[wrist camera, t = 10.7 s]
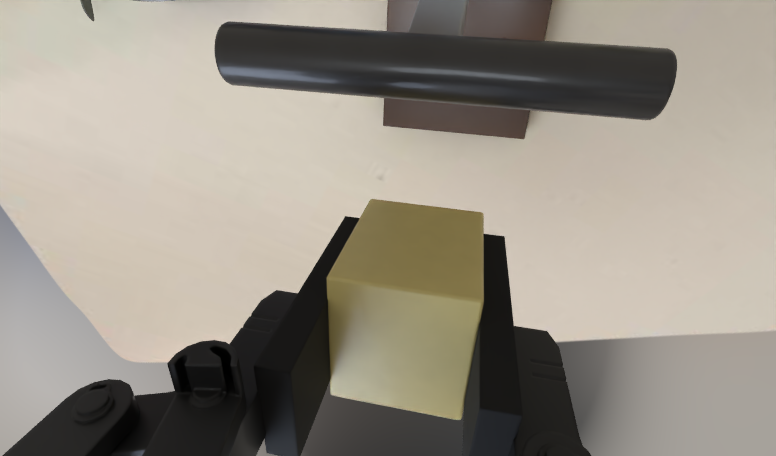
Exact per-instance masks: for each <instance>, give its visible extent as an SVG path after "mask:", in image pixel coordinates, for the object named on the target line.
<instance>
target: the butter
mask: <svg viewBox="0 0 776 456" xmlns="http://www.w3.org/2000/svg"><path fill="white" fill-rule="evenodd" d="M327 299H328V319H329V350H330V393H331V395H333V396H338V397H343V398H349V399H353V400H358V401H363V402H369V403H374V404H379V405H384V406H389V407H395V408H399V409H404V410H409V411H414V412H419V413H425V414H430V415H435V416H440V417H445V418H451V419H455V420H460V419H461V418H462V414H463V408H464V402H465V396H466V391H467V386H468V381H469V375H470V370H471V365H472V360H473V354H474V349H475V344H476V339H477V333H478V328H479V323H480V319H481V314H482V309H483V304H484V228H483V213H481V212H474V211H466V210H457V209H449V208H441V207H433V206H425V205H417V204H408V203H400V202H392V201H384V200H376V199H371V200H370V201H369V203H368V205H367V206H366V208H365V210H364V212H363V214H362V215H361V217H360V219H359V221H358V223H357V224H356V226H355V228H354V230H353V231H352V233H351V235H350V237H349V239H348V240H347V242H346V244H345V246H344V247H343V249H342V251H341V253H340V255H339V256H338V258H337V260H336V262H335V264H334V265H333V267H332V269H331V271H330V272H329V274H328V276H327Z"/></svg>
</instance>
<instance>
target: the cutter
mask: <svg viewBox="0 0 776 456" xmlns="http://www.w3.org/2000/svg"><path fill="white" fill-rule="evenodd" d="M468 2H469V0H419V2H418V5H417V8H416V10H415V13H414V16H413V19H412V22H411V25H410V28H409V31H408V33H407V32H391V31H374V30H358V29H342V28H325V27H309V26H293V25H276V24H260V23H244V22H226V23H224V24H223V25H221V27H220V28H219V30H218V32H217V35H216V39H215V58H216V63H217V67H218V70H219V72H220V74H221V76H222V77H223V79H224V80H225V81H226V82H228V83H229V84H231V85H238V86H249V87H261V88H273V89H285V90H297V91H308V92H320V93H332V94H344V95H356V96H367V97H379V98H391V99H403V100H415V101H426V102H438V103H450V104H462V105H474V106H485V107H497V108H509V109H521V110H533V111H544V112H556V113H568V114H580V115H592V116H603V117H615V118H627V119H639V120H651V119H654V118H656V117H657V116H658V115H659V114H660V113H661V112H662V110H663V109H664V107H665V106H666V104H667V102H668V100H669V97H670V95H671V92H672V90H673V86H674V83H675V78H676V71H677V60H676V56H675V53H674V52H673V51H672V50H670V49H668V48H651V47H635V46H619V45H603V44H586V43H570V42H554V41H537V40H521V39H505V38H488V37H472V36H463V32H464V26H465V20H466V14H467V8H468Z"/></svg>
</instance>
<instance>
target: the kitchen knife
mask: <svg viewBox="0 0 776 456" xmlns="http://www.w3.org/2000/svg"><path fill="white" fill-rule="evenodd" d="M81 4H82V7H83V9H84V11H85V13H86V14H87V16H88V17H89V18H90V19H91V20H92V21H94V14H93V9H92V4H91V0H81Z"/></svg>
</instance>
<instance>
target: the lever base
mask: <svg viewBox="0 0 776 456" xmlns="http://www.w3.org/2000/svg"><path fill="white" fill-rule="evenodd" d="M418 2H419V0H388V11H387V31H391V32H407V33H408V31H409V28H410V25H411V22H412V19H413V16H414V13H415V10H416V8H417V5H418ZM551 4H552V0H469V2H468V8H467V14H466V20H465V26H464V32H463V36H472V37H488V38H505V39H521V40H537V41H544V39H545V34H546V29H547V24H548V19H549V14H550V9H551ZM529 113H530V110H521V109H509V108H497V107H485V106H474V105H462V104H450V103H438V102H426V101H415V100H403V99H391V98H384V118H383V126H391V127H402V128H412V129H423V130H433V131H444V132H455V133H465V134H476V135H486V136H497V137H507V138H518V139H524V138H525V133H526V128H527V123H528V118H529Z"/></svg>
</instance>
